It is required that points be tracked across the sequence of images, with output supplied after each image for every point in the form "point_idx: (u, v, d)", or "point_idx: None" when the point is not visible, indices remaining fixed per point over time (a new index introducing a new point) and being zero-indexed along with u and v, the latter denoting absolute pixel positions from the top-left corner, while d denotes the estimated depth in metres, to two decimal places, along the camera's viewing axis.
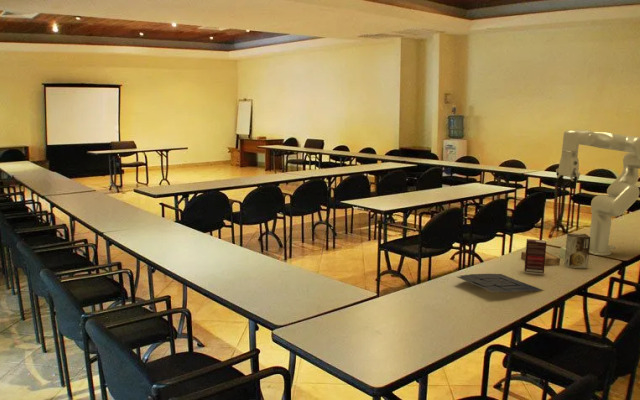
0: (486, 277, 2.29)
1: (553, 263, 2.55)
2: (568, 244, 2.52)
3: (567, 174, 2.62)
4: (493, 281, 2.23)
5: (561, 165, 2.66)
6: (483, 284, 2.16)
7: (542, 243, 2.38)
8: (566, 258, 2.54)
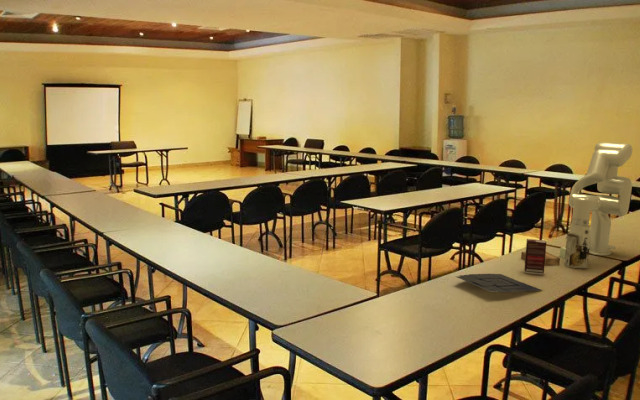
0: (485, 277, 2.29)
1: (553, 263, 2.55)
2: (568, 244, 2.52)
3: (578, 243, 2.49)
4: (492, 281, 2.23)
5: (571, 232, 2.53)
6: (482, 284, 2.16)
7: (542, 243, 2.38)
8: (566, 258, 2.54)
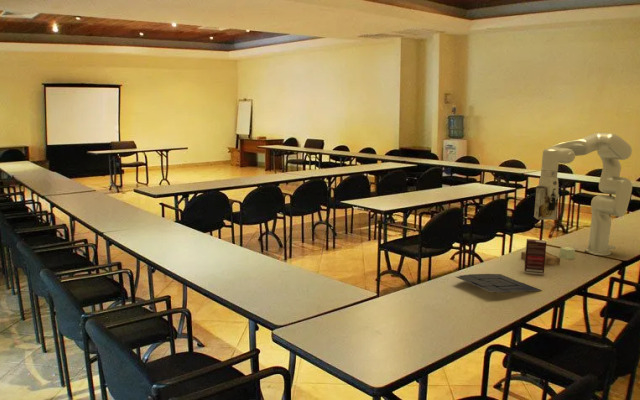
0: (485, 277, 2.29)
1: (553, 263, 2.55)
2: (537, 196, 2.55)
3: None
4: (492, 281, 2.23)
5: (540, 184, 2.55)
6: (482, 284, 2.16)
7: (542, 243, 2.38)
8: (535, 210, 2.57)
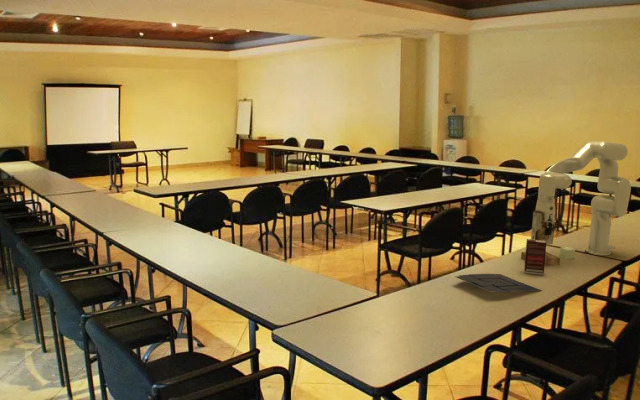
0: (485, 277, 2.29)
1: (553, 263, 2.55)
2: (534, 220, 2.57)
3: None
4: (491, 281, 2.23)
5: (537, 209, 2.58)
6: (481, 284, 2.16)
7: (542, 243, 2.38)
8: (532, 234, 2.59)
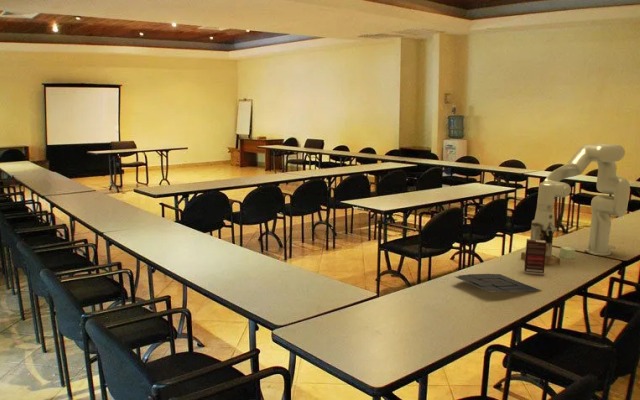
0: (484, 277, 2.29)
1: (553, 263, 2.55)
2: (532, 233, 2.59)
3: (542, 228, 2.55)
4: (491, 281, 2.23)
5: (536, 218, 2.58)
6: (481, 284, 2.16)
7: (542, 243, 2.38)
8: None
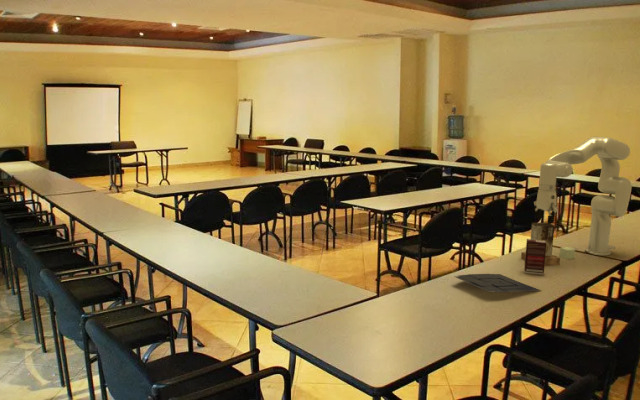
0: (484, 277, 2.29)
1: (553, 263, 2.55)
2: (533, 233, 2.58)
3: (545, 208, 2.53)
4: (491, 281, 2.23)
5: (539, 198, 2.57)
6: (481, 284, 2.16)
7: (542, 243, 2.38)
8: None
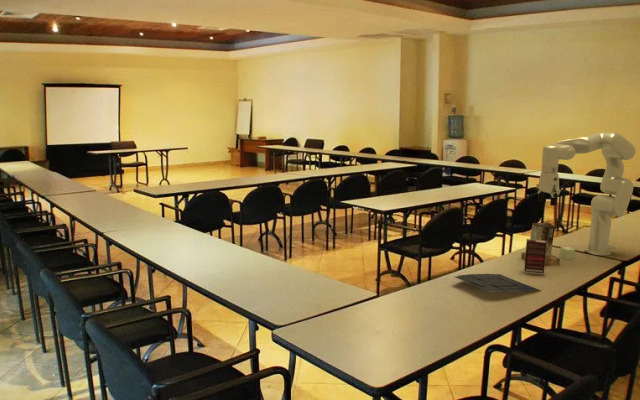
0: (484, 277, 2.29)
1: (553, 263, 2.55)
2: (533, 233, 2.57)
3: (547, 190, 2.55)
4: (491, 281, 2.23)
5: (541, 181, 2.59)
6: (480, 284, 2.16)
7: (542, 243, 2.38)
8: None
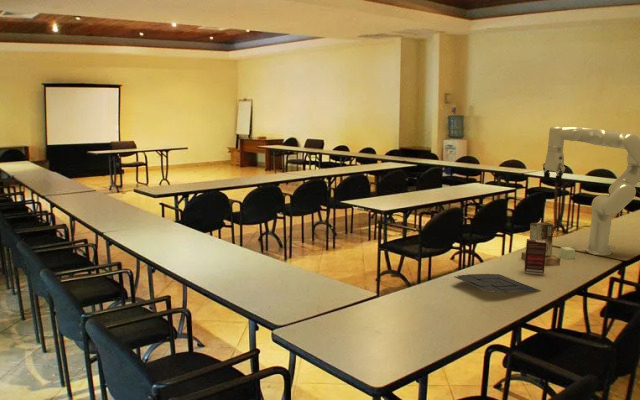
0: (484, 277, 2.29)
1: (553, 263, 2.55)
2: (533, 233, 2.58)
3: (553, 169, 2.71)
4: (490, 281, 2.23)
5: (547, 160, 2.75)
6: (480, 284, 2.16)
7: (542, 243, 2.38)
8: None
